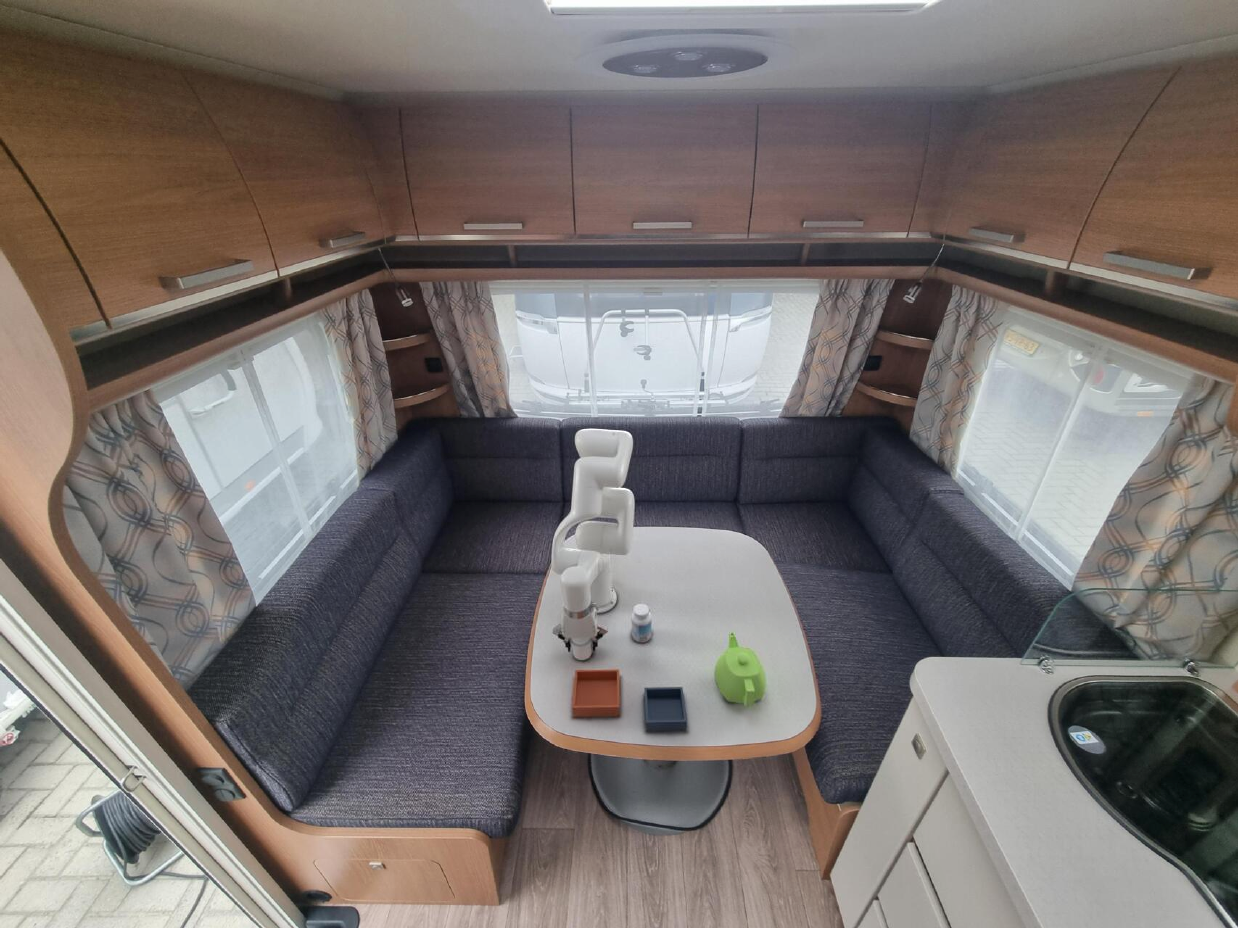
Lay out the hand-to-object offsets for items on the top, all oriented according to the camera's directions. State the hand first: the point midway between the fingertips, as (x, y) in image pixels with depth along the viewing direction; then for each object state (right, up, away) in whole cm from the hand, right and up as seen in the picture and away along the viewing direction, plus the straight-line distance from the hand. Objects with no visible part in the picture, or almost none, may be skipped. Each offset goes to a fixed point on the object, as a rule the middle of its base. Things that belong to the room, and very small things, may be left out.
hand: (582, 647), depth 144 cm
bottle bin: (+23, -12, -15) cm, 30 cm away
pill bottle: (+18, +1, +7) cm, 19 cm away
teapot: (+44, -7, -9) cm, 45 cm away
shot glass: (0, -2, +1) cm, 2 cm away
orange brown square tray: (+5, -9, -11) cm, 15 cm away
